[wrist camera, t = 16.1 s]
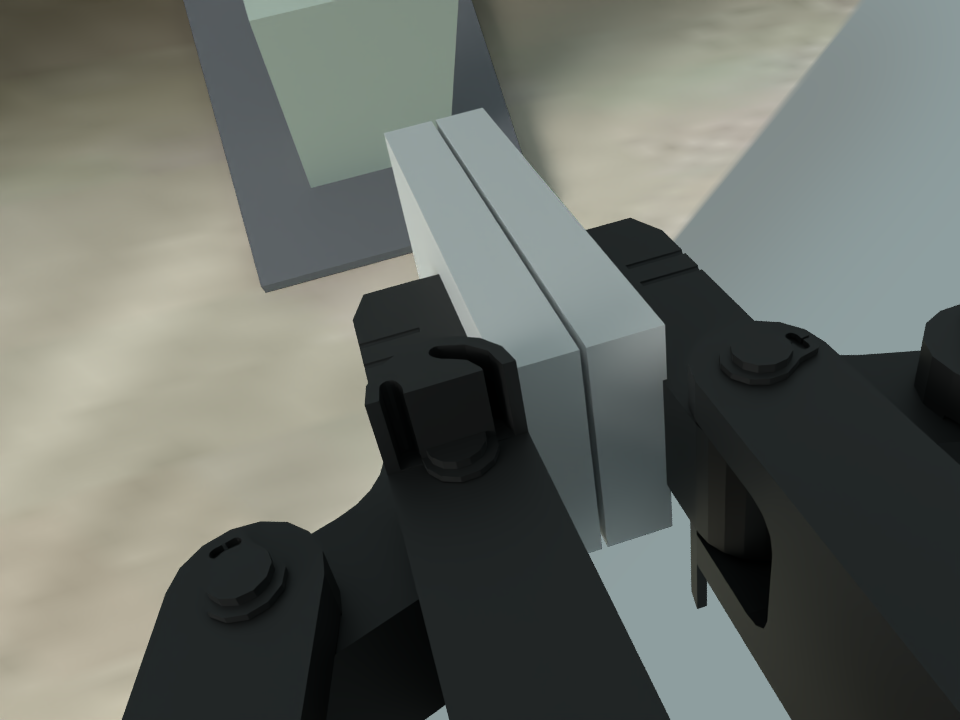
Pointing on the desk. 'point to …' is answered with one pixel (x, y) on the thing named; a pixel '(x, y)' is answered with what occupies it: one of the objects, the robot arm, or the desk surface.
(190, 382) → the desk surface
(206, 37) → the domino mat
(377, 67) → the domino
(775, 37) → the desk surface
